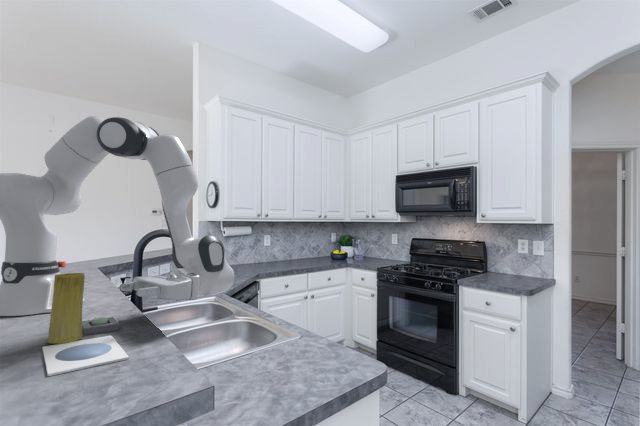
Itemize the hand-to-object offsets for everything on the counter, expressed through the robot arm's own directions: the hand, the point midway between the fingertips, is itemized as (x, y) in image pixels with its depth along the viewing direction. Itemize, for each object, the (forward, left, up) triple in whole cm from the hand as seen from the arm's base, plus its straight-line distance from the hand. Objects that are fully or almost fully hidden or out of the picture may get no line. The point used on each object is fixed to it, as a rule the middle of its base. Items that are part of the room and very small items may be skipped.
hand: (129, 290), depth 80 cm
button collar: (+1, -6, -10) cm, 12 cm away
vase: (+10, -7, -10) cm, 16 cm away
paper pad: (+16, +2, -10) cm, 18 cm away
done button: (+1, -6, -10) cm, 12 cm away
